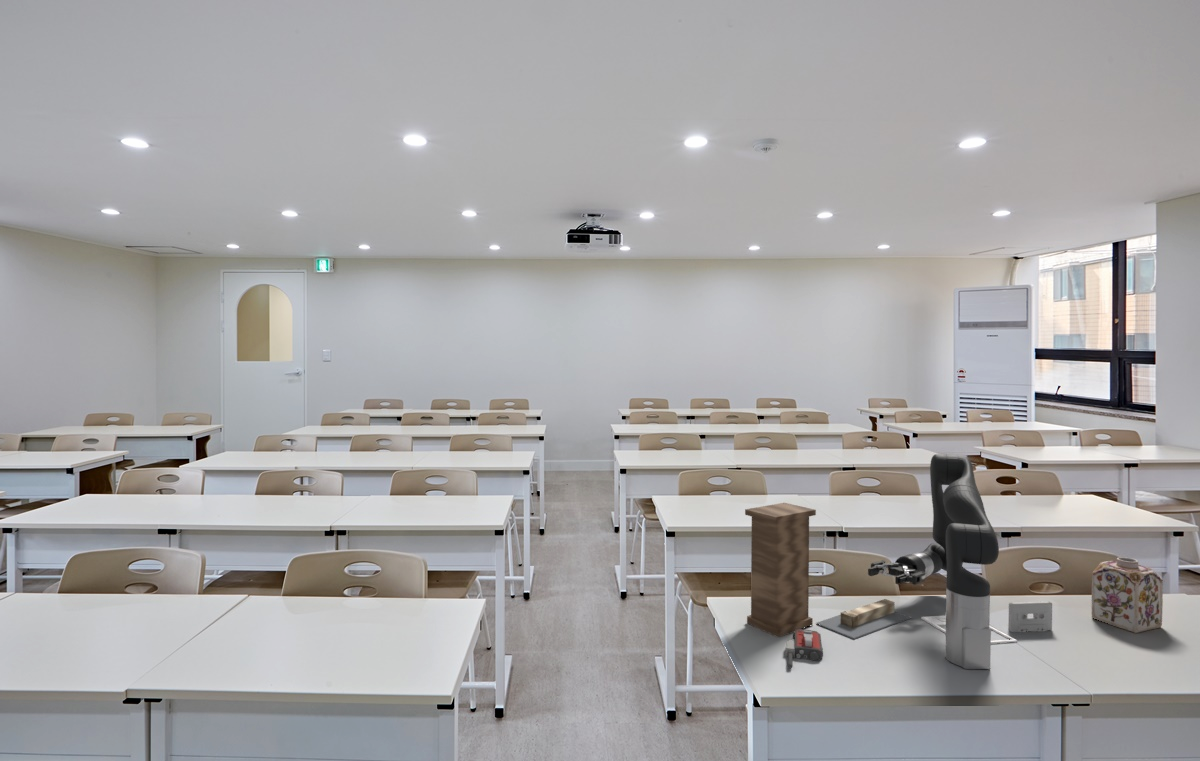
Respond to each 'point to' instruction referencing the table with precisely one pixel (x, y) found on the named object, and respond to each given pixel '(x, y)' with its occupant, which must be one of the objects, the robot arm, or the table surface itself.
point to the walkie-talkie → (804, 646)
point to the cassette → (1035, 623)
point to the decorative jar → (1127, 595)
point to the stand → (780, 568)
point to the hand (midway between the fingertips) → (882, 576)
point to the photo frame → (941, 621)
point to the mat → (863, 625)
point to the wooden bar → (867, 613)
